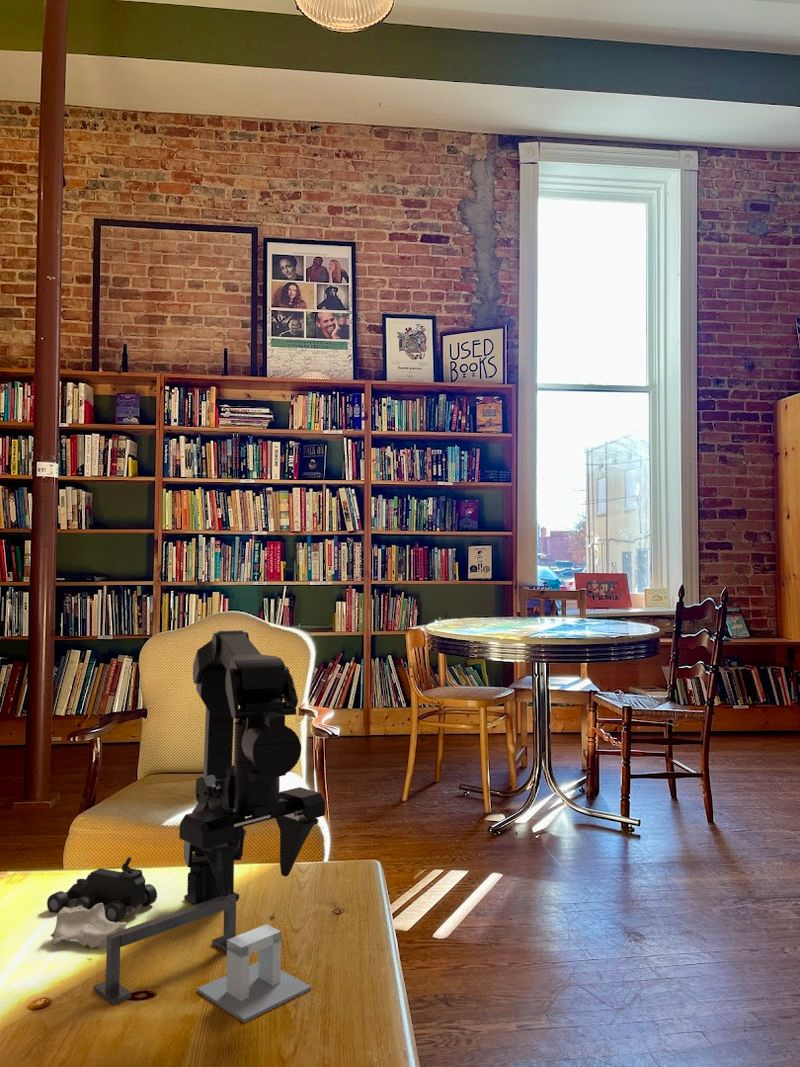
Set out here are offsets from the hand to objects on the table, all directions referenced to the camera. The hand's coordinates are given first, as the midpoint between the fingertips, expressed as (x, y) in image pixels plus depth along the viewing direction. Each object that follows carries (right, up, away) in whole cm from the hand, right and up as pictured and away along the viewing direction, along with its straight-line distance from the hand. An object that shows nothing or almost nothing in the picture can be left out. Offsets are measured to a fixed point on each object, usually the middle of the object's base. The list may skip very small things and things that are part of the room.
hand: (255, 885), depth 96 cm
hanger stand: (-12, -13, +4) cm, 18 cm away
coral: (-26, -14, +13) cm, 32 cm away
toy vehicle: (-28, -15, +24) cm, 40 cm away
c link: (0, -12, -1) cm, 12 cm away
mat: (0, -13, -1) cm, 13 cm away
